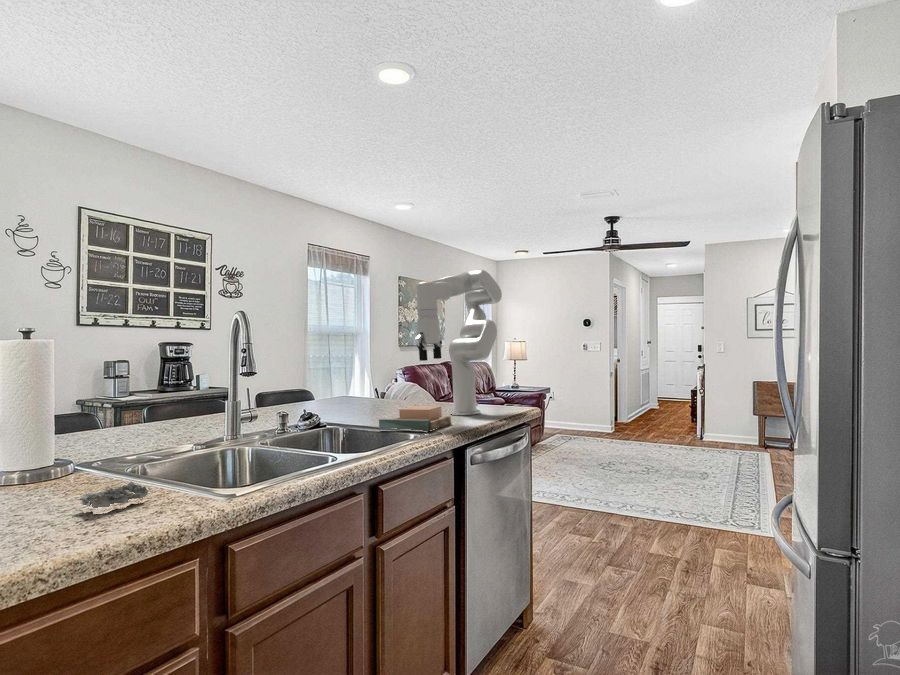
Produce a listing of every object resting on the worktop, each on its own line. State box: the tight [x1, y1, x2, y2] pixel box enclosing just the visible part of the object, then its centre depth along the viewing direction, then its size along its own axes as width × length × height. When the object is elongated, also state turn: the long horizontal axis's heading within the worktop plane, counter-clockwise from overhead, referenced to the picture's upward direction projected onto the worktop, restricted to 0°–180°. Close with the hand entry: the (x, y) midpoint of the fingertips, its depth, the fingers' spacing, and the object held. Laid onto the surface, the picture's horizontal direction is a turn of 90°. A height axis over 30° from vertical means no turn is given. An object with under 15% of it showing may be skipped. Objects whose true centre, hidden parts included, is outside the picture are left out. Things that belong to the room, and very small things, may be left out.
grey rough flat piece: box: [79, 481, 152, 508], centre depth 107 cm, size 11×8×4 cm
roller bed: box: [378, 415, 452, 431], centre depth 195 cm, size 19×19×4 cm
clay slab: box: [398, 405, 443, 421], centre depth 198 cm, size 10×12×4 cm
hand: (430, 359), depth 206 cm, fingers open, 9 cm apart
